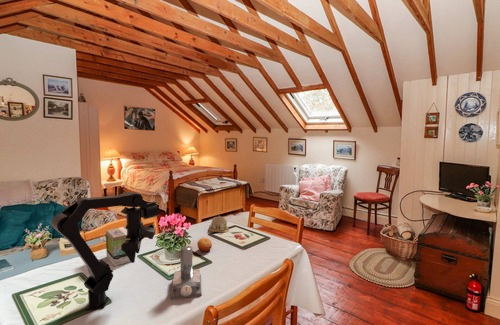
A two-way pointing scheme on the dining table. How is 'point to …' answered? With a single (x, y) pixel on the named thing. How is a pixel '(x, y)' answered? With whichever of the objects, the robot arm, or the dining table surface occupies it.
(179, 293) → the scale
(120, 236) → the tea box
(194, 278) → the pan
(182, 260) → the cylinder
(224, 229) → the ceramic model
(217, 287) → the dining table surface
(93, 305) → the robot arm
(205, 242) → the fruit
